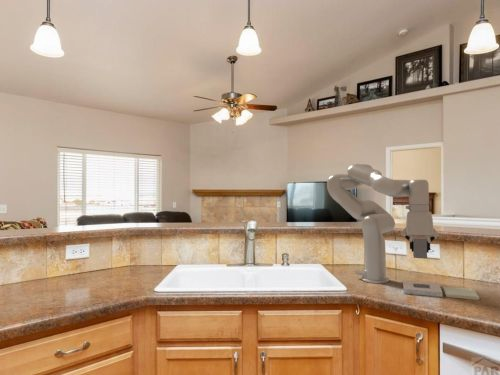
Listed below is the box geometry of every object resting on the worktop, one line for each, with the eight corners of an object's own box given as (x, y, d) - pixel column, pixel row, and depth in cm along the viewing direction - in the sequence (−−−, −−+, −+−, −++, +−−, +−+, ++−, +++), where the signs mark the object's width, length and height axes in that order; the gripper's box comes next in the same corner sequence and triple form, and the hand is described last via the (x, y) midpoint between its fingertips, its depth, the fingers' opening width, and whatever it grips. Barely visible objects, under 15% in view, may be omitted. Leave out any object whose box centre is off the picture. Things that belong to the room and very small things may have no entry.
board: (446, 296, 134) (446, 294, 134) (442, 288, 145) (442, 286, 145) (479, 299, 129) (479, 297, 129) (473, 291, 140) (473, 288, 140)
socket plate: (403, 293, 139) (403, 288, 139) (403, 284, 152) (403, 280, 152) (442, 297, 133) (442, 292, 133) (438, 287, 146) (438, 283, 146)
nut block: (413, 257, 142) (413, 238, 142) (413, 255, 146) (412, 237, 146) (427, 258, 140) (426, 239, 140) (426, 256, 144) (425, 237, 144)
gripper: (397, 209, 143) (398, 251, 143) (443, 209, 136) (444, 254, 136) (397, 208, 150) (398, 249, 150) (440, 208, 143) (441, 251, 143)
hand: (419, 251), depth 143 cm, fingers closed on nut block, 5 cm apart
